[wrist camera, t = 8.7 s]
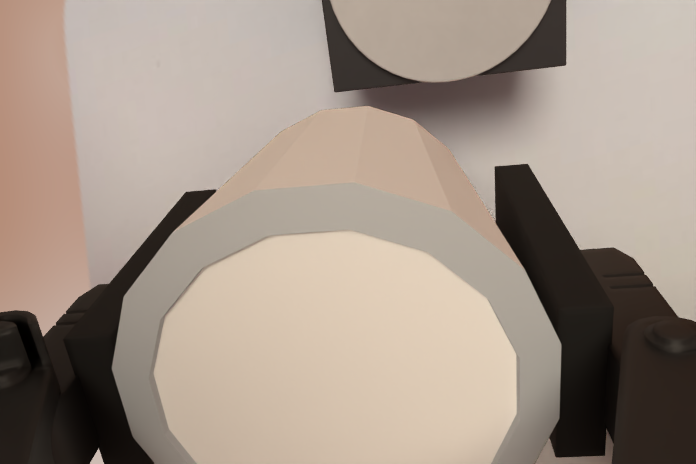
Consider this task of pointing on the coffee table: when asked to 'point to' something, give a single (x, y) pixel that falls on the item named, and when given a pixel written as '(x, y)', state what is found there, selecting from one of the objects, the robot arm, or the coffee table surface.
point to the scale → (440, 39)
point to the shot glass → (339, 314)
